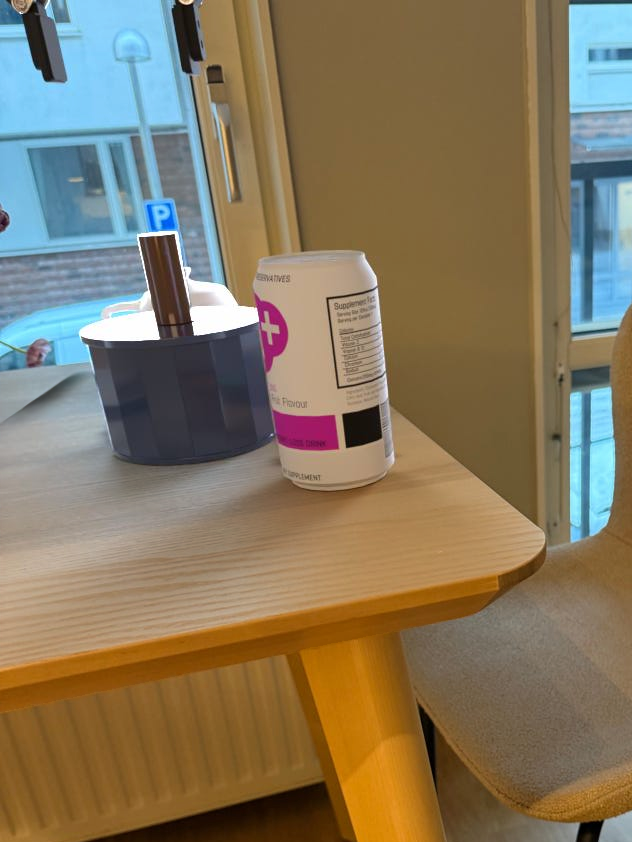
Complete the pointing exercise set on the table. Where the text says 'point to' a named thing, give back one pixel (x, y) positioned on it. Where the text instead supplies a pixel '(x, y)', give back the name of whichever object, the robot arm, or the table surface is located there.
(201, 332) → the lid
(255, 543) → the table surface
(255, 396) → the canister
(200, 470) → the table surface
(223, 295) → the teapot
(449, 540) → the table surface
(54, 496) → the table surface
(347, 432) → the supplement can
